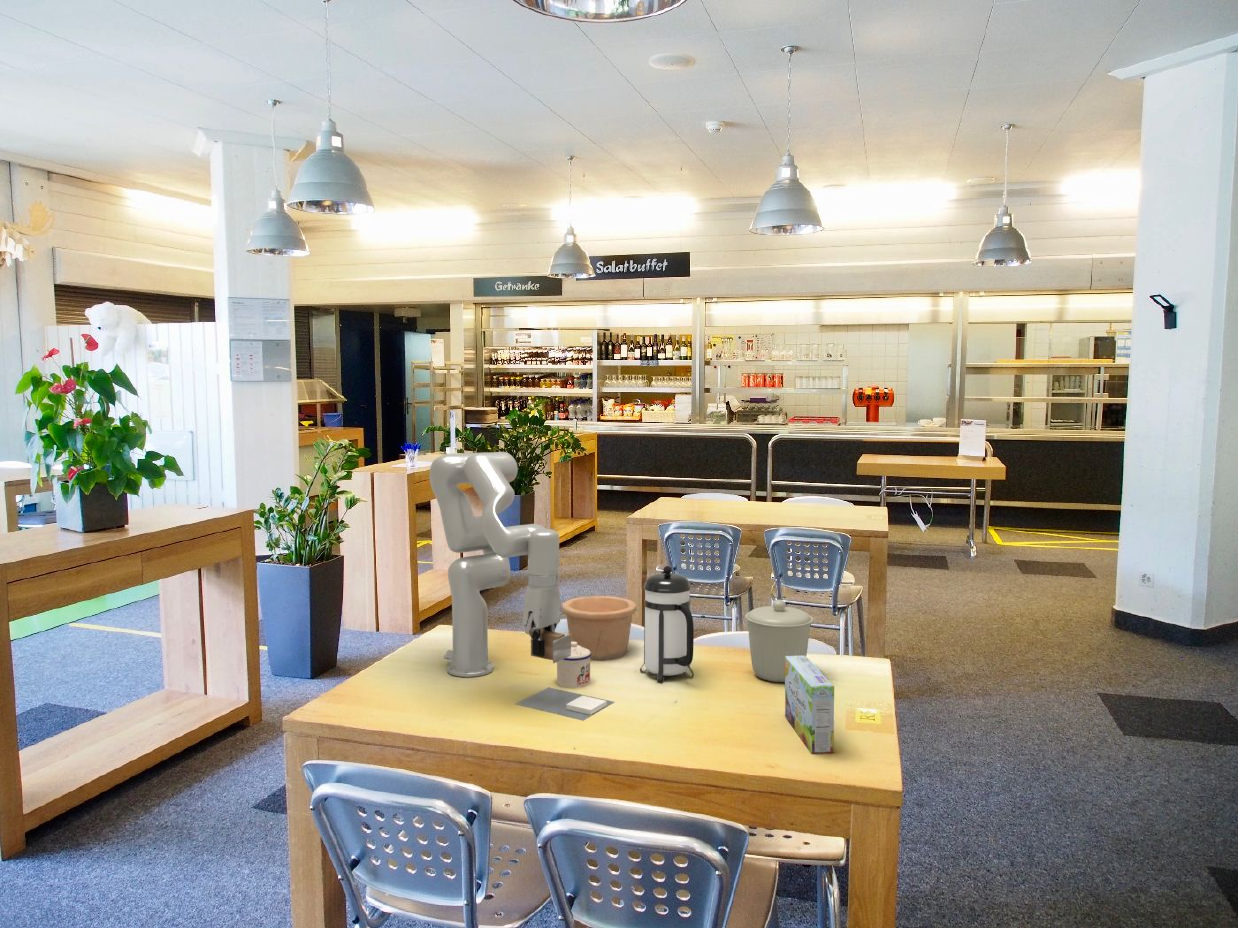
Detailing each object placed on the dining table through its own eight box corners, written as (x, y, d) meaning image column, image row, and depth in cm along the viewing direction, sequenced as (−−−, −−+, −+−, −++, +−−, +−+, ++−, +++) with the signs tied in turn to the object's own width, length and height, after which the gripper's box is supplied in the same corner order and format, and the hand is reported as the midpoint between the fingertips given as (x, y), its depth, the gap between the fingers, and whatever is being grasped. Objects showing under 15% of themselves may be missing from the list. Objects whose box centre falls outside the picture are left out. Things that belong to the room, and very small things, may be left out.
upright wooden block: (525, 657, 210) (525, 633, 209) (542, 650, 216) (542, 626, 215) (554, 663, 205) (554, 639, 205) (570, 656, 211) (571, 632, 211)
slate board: (514, 707, 209) (514, 703, 209) (548, 690, 221) (548, 687, 221) (583, 724, 199) (583, 720, 198) (615, 705, 211) (615, 701, 210)
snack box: (782, 717, 204) (783, 654, 203) (805, 716, 204) (807, 654, 203) (809, 754, 183) (811, 685, 182) (835, 753, 183) (837, 684, 182)
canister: (783, 692, 220) (785, 611, 218) (730, 675, 234) (731, 599, 232) (825, 677, 232) (827, 600, 230) (772, 661, 246) (773, 589, 244)
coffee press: (629, 680, 229) (630, 569, 226) (650, 663, 244) (650, 558, 241) (692, 689, 222) (693, 575, 220) (709, 670, 237) (710, 563, 235)
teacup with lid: (582, 693, 219) (582, 649, 218) (550, 689, 222) (550, 645, 221) (600, 679, 230) (600, 636, 229) (569, 675, 233) (569, 633, 232)
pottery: (649, 648, 258) (649, 601, 257) (609, 668, 239) (609, 617, 238) (589, 637, 269) (589, 592, 268) (547, 655, 251) (547, 607, 250)
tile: (566, 704, 205) (590, 709, 201) (582, 695, 211) (606, 700, 207) (566, 709, 205) (590, 715, 202) (582, 700, 211) (606, 706, 208)
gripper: (550, 571, 218) (549, 642, 220) (510, 584, 204) (510, 659, 206) (574, 575, 215) (574, 647, 216) (535, 588, 201) (535, 665, 202)
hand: (542, 652), depth 211 cm, fingers closed on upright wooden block, 3 cm apart
